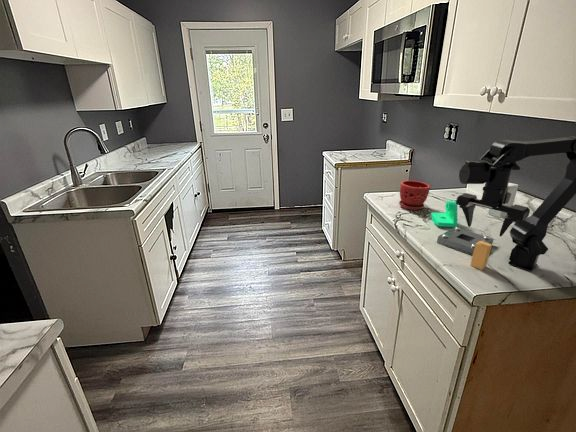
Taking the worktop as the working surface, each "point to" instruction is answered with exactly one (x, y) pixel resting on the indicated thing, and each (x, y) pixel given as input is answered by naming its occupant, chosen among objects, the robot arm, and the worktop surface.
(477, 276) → the worktop surface
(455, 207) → the camera mount
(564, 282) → the worktop surface
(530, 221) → the robot arm
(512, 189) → the skincare box
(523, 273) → the worktop surface
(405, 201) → the plant pot
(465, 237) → the grey square hole plate
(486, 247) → the tan square peg
